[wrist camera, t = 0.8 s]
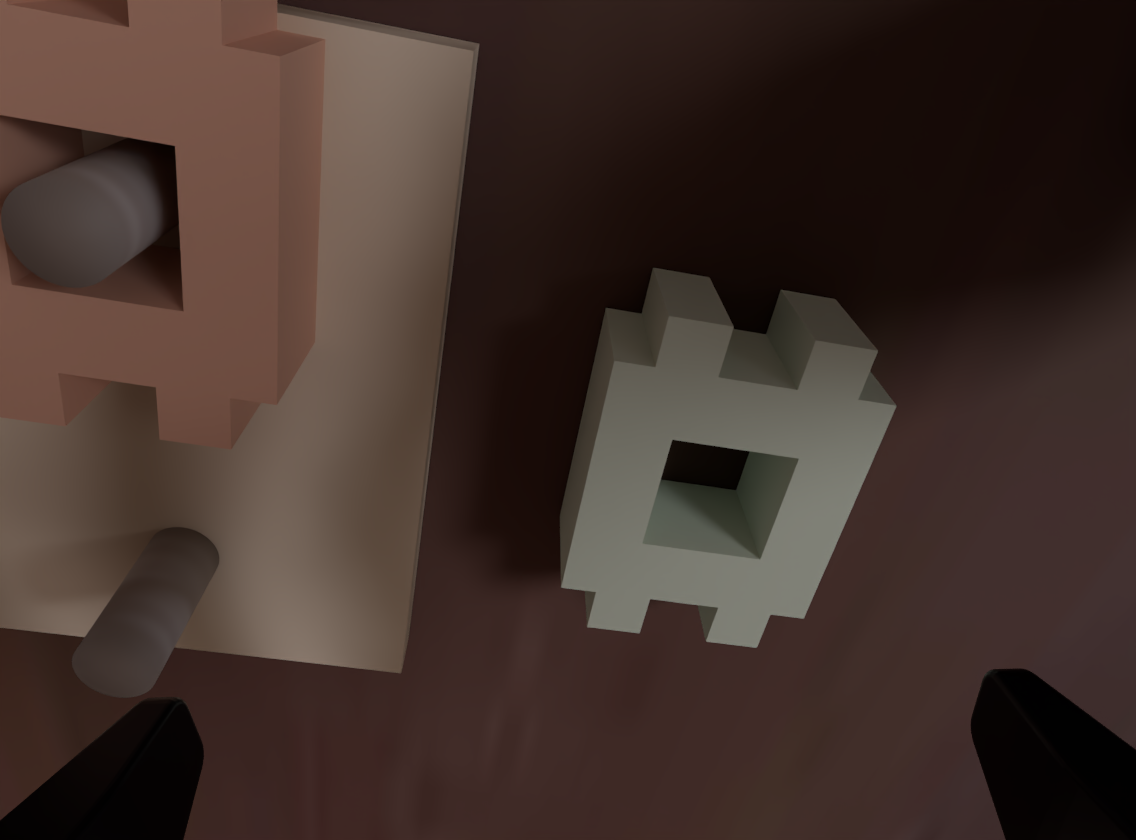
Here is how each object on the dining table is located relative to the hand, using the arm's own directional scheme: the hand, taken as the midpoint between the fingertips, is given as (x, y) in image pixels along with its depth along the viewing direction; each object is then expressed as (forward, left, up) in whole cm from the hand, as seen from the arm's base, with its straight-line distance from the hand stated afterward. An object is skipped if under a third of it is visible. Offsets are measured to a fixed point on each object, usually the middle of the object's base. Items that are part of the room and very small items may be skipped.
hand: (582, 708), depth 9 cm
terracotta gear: (+9, -2, -11) cm, 14 cm away
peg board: (+9, +3, -12) cm, 15 cm away
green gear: (-4, +3, -12) cm, 13 cm away
